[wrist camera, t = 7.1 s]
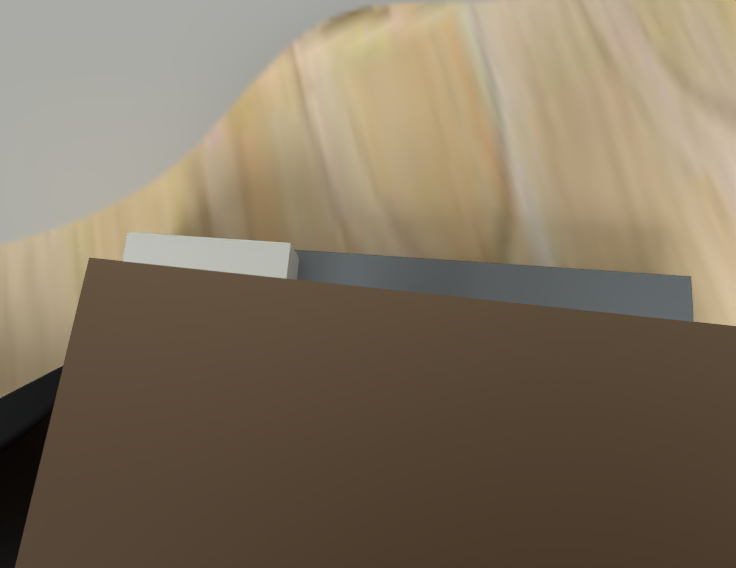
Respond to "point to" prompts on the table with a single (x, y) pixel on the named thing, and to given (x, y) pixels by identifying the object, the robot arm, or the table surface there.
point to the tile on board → (213, 254)
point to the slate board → (508, 283)
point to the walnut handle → (378, 431)
